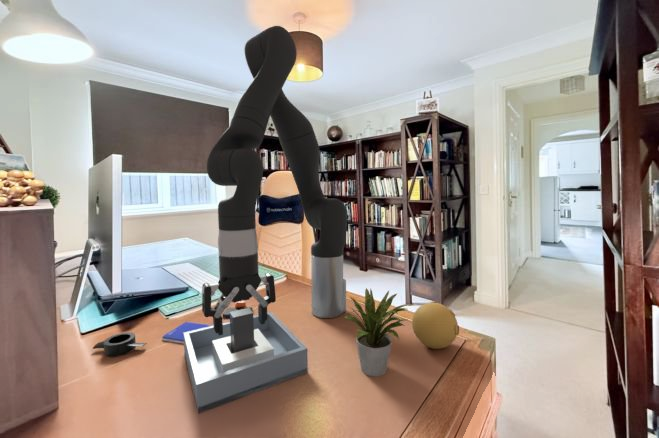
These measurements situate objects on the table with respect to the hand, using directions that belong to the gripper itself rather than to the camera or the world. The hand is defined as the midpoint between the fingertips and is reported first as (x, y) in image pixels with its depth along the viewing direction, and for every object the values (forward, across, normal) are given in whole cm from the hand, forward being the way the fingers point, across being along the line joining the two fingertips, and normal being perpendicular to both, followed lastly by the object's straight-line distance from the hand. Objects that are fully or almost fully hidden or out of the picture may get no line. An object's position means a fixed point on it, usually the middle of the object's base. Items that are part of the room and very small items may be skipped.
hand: (241, 328), depth 60 cm
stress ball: (+8, -39, +17) cm, 43 cm away
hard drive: (+8, +7, -18) cm, 21 cm away
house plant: (+8, -21, +17) cm, 28 cm away
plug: (+7, 0, 0) cm, 7 cm away
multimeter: (+8, -7, -31) cm, 33 cm away
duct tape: (+8, +22, -20) cm, 31 cm away
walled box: (+8, 0, 0) cm, 8 cm away
